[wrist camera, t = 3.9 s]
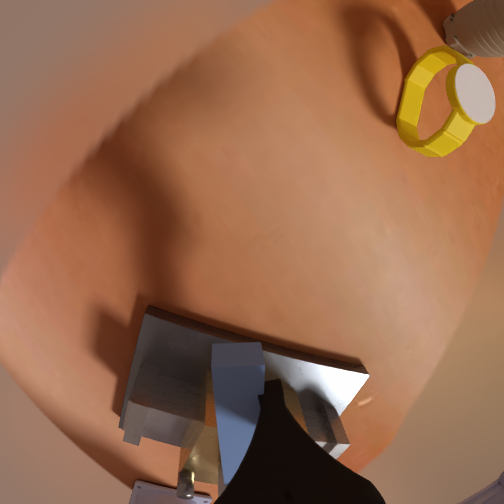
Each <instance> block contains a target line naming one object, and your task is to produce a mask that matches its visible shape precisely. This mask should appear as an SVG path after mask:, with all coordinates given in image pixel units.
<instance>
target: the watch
mask: <svg viewBox="0 0 504 504" xmlns="http://www.w3.org/2000/svg"><path fill="white" fill-rule="evenodd" d="M416 61H417V62H415V63H414V65H413V66H412V68H411V69H410V71H409V73H408V74H407V76H406V77H405V78H406V79H404V81H405V84H404V89H403V93H402V97H401V102H400V106H399V110H398V114H397V118H396V124H397V129H398V134H399V137H400V139H401V140H402V141H403V142H404V143H405V144H406V145H407V146H408V147H410V148H412V149H414V150H416V151H418V152H420V153H422V154H424V155H426V156H428V157H443V156H444V155H445V156H446V155H447V154H449V153H450V152H452V151H453V150H455V149H456V148H458V147H459V146H461V145H462V142H465V140H466V139H467V137H468V136H469V134H470V133H471V131H472V130H473V128H474V127H475V125H476V124H485V123H487V122H488V121H490V120H491V118H492V116H493V115H494V111H495V96H494V91H493V88H492V86H491V83H490V81H489V80H488V78H487V77H486V75H485V74H484V73H483V72H482V71H481V70H480V69H479V68H478V67H477V66H475V64H474V63H472V62H471V61H470V60H468V59H467V58H466V57H464V56H463V55H462V54H460V53H459V52H457V51H456V50H454V49H452V48H450V47H448V46H445V45H443V46H439V47H435V48H432V49H430V50H428V51H427V52H425V53H424V54H423V55H422V56H421V57H420V58H419V59H418V60H416ZM455 63H457V66H454V67H452V68H451V69H450V71H449V72H448V75H447V78H446V91H447V96H448V100H449V102H450V104H451V107H452V108H453V110H452V111H451V113H450V115H449V116H448V118H447V120H446V121H445V123H444V125H443V126H442V128H441V129H439V130H438V131H437V132H435V133H434V134H433V135H432V136H430V137H429V138H428V139H426V140H419V136H418V132H417V128H416V127H417V123H418V118H419V114H420V110H421V105H422V101H423V96H424V91H425V89H426V87H427V86H428V84H429V83H430V81H431V80H432V78H433V77H434V75H435V74H436V73H437V72H439V71H440V70H441V69H443V68H444V67H445V66H446V65H448V64H455Z"/></svg>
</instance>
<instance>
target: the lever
mask: <svg viewBox="0 0 504 504" xmlns="http://www.w3.org/2000/svg"><path fill="white" fill-rule="evenodd" d="M211 370H212V381H213V392H214V401H215V411H216V420H217V429H218V438H219V446H220V454H221V463H220V464H219V466H218V497H219V496H220V495H221V494H222V492H223V491H224V490H225V488H226V487H227V485H228V484H229V482H230V481H231V479H232V478H233V476H234V474H235V473H236V471H237V469H238V468H239V466H240V464H241V462H242V460H243V458H244V456H245V454H246V452H247V449H248V447H249V445H250V442H251V440H252V437H253V434H254V431H255V428H256V425H257V421H258V417H259V413H260V409H261V408H260V404H259V400H258V396H257V395H261V394H264V380H265V362H264V357H263V351H262V346H261V342H250V343H215V344H212V360H211Z"/></svg>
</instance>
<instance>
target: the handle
mask: <svg viewBox="0 0 504 504" xmlns="http://www.w3.org/2000/svg"><path fill="white" fill-rule="evenodd" d="M443 27H444V30H445V34H446V39H445V41H446V43H447V44H448V46H450V47H452V48H453V49H454V50H456V51H457V52H459V53H460V54H462V55H463V56H464V57H466V58H467V59H469V58H474V57H475V56H480V57H504V0H474V1H472V2H470V3H468V4H467V5H465V6H464V7H462V8H461V9H460V10H459V11H458V12H457V13H456V15H454V14H451V15H450V16H448V17H447V18H446V19H444V21H443Z"/></svg>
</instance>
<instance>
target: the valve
mask: <svg viewBox="0 0 504 504" xmlns="http://www.w3.org/2000/svg"><path fill="white" fill-rule="evenodd" d="M250 342H261V346H262V351H263V357H264V362H265V380H264V381H269V380H274V379H279V378H280V379H281V383H282V387H283V391H284V397H285V403H286V407H287V408H288V409H289V411H290V412H291V414H292V415H293V417H294V418H295V419H296V421H297V422H298V423H299V424H300V425H301V427H302V428H303V429H304V430H305V431H306V432H307V434H308V435H309V436H310V437H311V438H312V439H313V440H314V441H315V442H316V443H317V444H318V445H319V446H320V447H322V448H323V449H324V450H325V451H326V452H327V453H329V454H330V455H331V456H332V457H334V458H335V459H337V458H338V457H339V456H340V455H341V454H342V453H343V452H344V451H345V450H346V448H347V447H348V446H349V445H350V443H349V440H348V438H347V435H346V433H345V430H344V427H343V425H342V422H341V420H340V417H339V416H340V414H341V413H342V412H343V411H344V409H345V408H346V407H347V405H348V404H349V403H350V401H351V400H352V399H353V397H354V396H355V395H356V393H357V392H358V391H359V389H360V388H361V387H362V385H363V384H364V382H365V381H366V380H367V378H368V377H369V373H368V372H367V370H366V368H365V367H364V366H359V365H354V364H350V363H345V362H341V361H337V360H332V359H328V358H324V357H320V356H316V355H311V354H307V353H304V352H300V351H296V350H292V349H288V348H284V347H281V346H277V345H273V344H270V343H266V342H262V341H259V340H255V339H252V338H248V337H245V336H242V335H238V334H235V333H232V332H228V331H225V330H222V329H219V328H215V327H212V326H209V325H206V324H203V323H200V322H197V321H194V320H190V319H187V318H184V317H182V316H179V315H176V314H173V313H170V312H167V311H164V310H161V309H158V308H156V307H153V306H150V305H148V307H147V309H146V312H145V314H144V318H143V322H142V325H141V329H140V333H139V337H138V341H137V345H136V349H135V353H134V357H133V361H132V366H131V370H130V374H129V379H128V383H127V388H126V392H125V397H124V402H123V407H122V412H121V417H120V422H119V428H121V429H122V430H124V431H125V433H124V438H123V441H125V442H128V443H131V444H134V445H137V446H139V443H140V439H141V436H143V437H146V438H150V439H153V440H156V441H160V442H163V443H167V444H171V445H175V446H179V447H181V450H180V460H179V471H178V483H177V497H178V498H181V499H185V500H189V499H193V498H194V480H195V481H200V482H205V483H211V484H217V485H218V466H219V464H220V463H221V454H220V446H219V438H218V429H217V420H216V411H215V401H214V392H213V381H212V370H211V360H212V344H215V343H250Z"/></svg>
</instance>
